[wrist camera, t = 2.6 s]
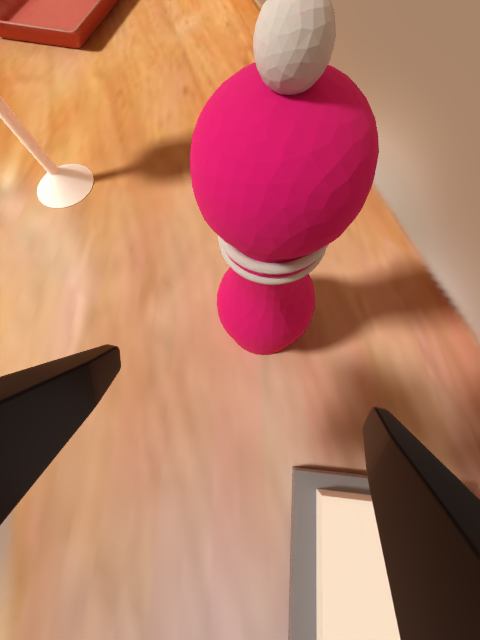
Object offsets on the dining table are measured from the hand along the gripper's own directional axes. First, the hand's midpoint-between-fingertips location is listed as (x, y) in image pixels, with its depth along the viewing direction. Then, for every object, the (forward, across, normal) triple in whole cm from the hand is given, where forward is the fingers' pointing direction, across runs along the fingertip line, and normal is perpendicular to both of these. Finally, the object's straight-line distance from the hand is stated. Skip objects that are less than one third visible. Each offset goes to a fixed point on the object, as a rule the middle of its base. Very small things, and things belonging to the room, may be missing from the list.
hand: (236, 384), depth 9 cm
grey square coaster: (+3, -11, +16) cm, 19 cm away
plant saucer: (+46, +43, -26) cm, 68 cm away
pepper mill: (+14, 0, +5) cm, 15 cm away
